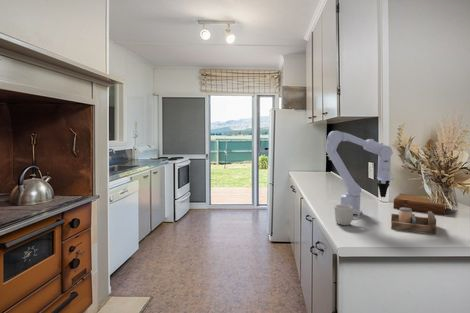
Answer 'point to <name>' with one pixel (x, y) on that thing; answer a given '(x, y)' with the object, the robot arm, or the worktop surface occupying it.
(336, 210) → the cup
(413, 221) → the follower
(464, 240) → the worktop surface
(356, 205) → the robot arm
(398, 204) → the brown wooden flat block
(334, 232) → the worktop surface
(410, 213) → the jar
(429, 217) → the brown wooden frame
